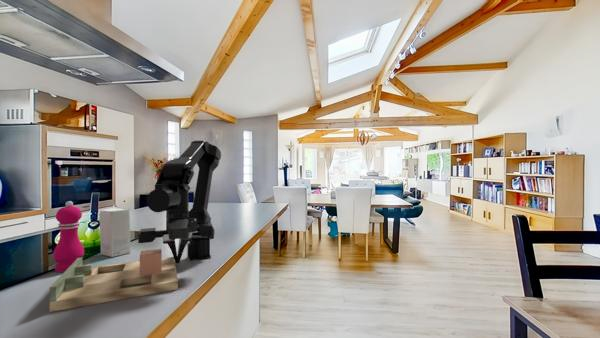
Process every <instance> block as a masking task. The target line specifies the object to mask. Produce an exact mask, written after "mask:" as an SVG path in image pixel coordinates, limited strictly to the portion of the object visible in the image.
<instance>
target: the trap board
mask: <svg viewBox="0 0 600 338" xmlns="http://www.w3.org/2000/svg"><path fill="white" fill-rule="evenodd" d="M178 289H179V280H178V274H177V267H176V263H175V260H174V257H173V256H170V257H164V258H163V257H162V271H161V272H160V273H154V274H147V275H140V260H139V261H138V260H137V261H131V262H123V263H115V264H113V263H112V264H107V265H99V266H93V264H92V263H91V264H83V257H81V258H78V259H77V260H76V261H75V262H74V263H73V264H72V265H71V266H70V267H69V268H68V269H67V270H66V271H65V272H62V274H61V275H60V276H59V277H58V278H57V279H56V280H55V281H54V282H53V283H52V284H51V285H50V286H49V313H51V312H57V311H62V310H68V309H73V308H74V309H75V308H80V307H86V306H91V305H97V304H102V303H108V302H112V301H113V302H114V301H121V300H125V299H131V298H136V297H143V296H147V295H148V296H149V295H153V294H159V293H160V294H161V293H165V292H171V291H175V290H178Z"/></svg>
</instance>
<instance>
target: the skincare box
mask: <svg viewBox="0 0 600 338" xmlns="http://www.w3.org/2000/svg"><path fill="white" fill-rule="evenodd" d="M130 218H131V217H130V208H119V207H117V208H116V207H115V208H110V209H103V210H102V209H101V210H99V234H100V235H99V236H100V240H99V241H100V255H104V256H106V257H111V258H113V257H114V258H115V257H119V256H123V255H126V254H130V253H131V228H130V227H131V225H130V223H131V219H130Z"/></svg>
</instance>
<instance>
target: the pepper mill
mask: <svg viewBox="0 0 600 338" xmlns="http://www.w3.org/2000/svg"><path fill="white" fill-rule="evenodd" d="M64 205H65V206H63V207H61V208H60V209H58V210H57V211H56V213H55V219H56V221H57V222H59V223H58V224H57V226H58V227H57V229H58V230H59V232H60V233H59V234H60V235H59V240H58V242H57V244H56V246H55V247H54V249H53V253H52V259H53V260H54V261H55V262H56V264H55V265H54V271H55V272H56V273H64V272H65V271H66V270H67V269H68V268H69V267H70V266H71V265H72V264H73V263H74V262H75V261H76V260H77V259H78V258H83V257H84V255H85V248H84V247H85V246H84V244H82V242H81V240H80V237H79V232H78V230H79V227H80V226H81V225H80V224H81V223H80V220H81V218H82V217H83V212H82V210H81V209H80V208H78V207H77V206H74V202H73V201H72V200H69V201H66V202H65V204H64Z"/></svg>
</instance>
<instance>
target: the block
mask: <svg viewBox="0 0 600 338" xmlns="http://www.w3.org/2000/svg"><path fill="white" fill-rule="evenodd" d="M162 258H163V255H162V248H158V249H157V248H156V249H148V250H140V254H139V261H140V275H147V274H154V273H160V272H161V271H162Z"/></svg>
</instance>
